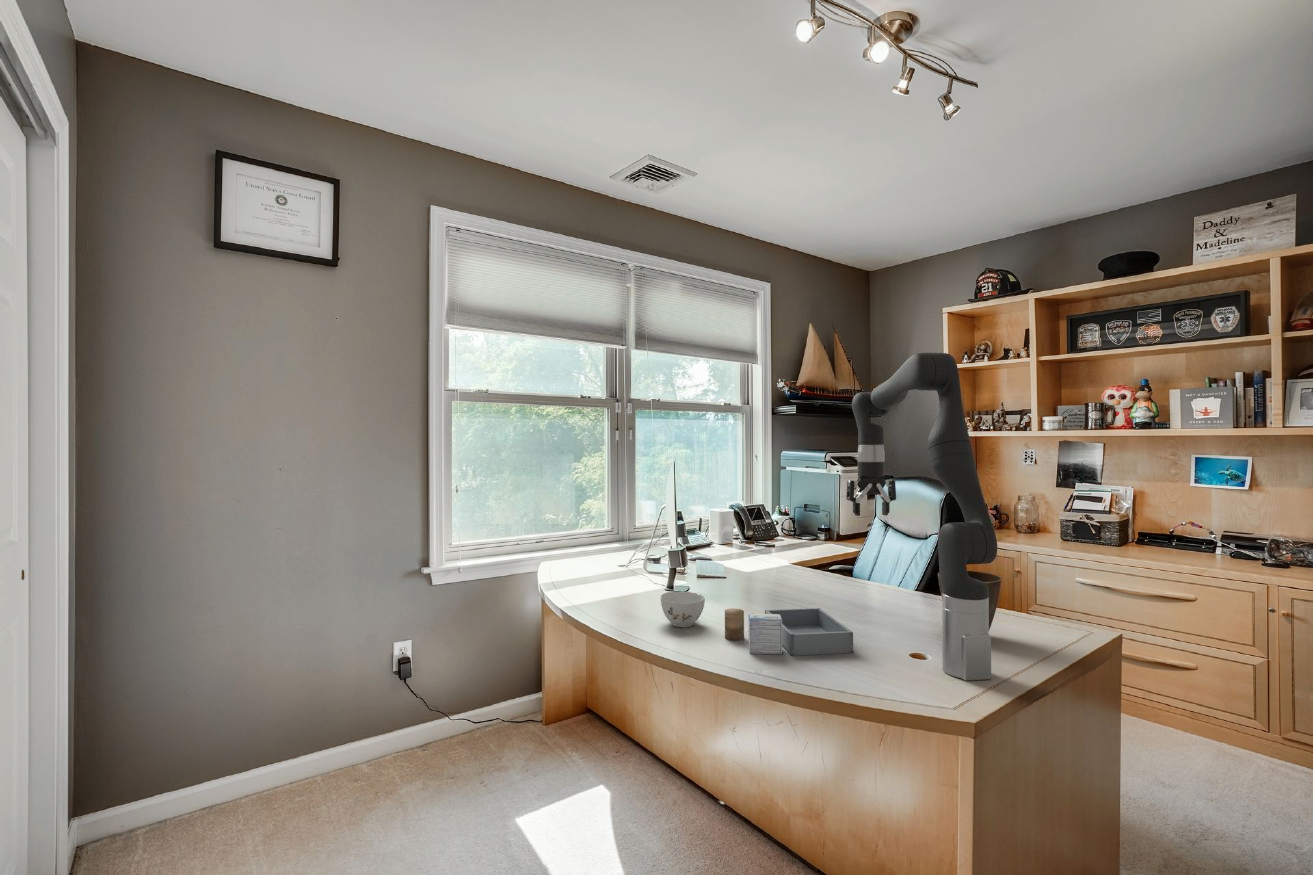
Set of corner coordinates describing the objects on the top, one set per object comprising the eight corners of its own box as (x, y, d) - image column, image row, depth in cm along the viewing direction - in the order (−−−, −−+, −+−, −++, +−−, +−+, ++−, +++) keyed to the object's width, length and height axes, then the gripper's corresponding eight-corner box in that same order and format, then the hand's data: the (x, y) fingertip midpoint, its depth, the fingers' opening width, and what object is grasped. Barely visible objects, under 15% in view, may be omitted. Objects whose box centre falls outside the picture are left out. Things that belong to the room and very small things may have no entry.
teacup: (694, 634, 166) (694, 604, 166) (652, 628, 171) (652, 599, 171) (714, 619, 179) (714, 591, 179) (675, 613, 185) (674, 587, 185)
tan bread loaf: (746, 640, 160) (746, 613, 160) (727, 641, 160) (727, 614, 160) (741, 634, 165) (741, 608, 165) (722, 635, 165) (722, 608, 165)
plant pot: (928, 637, 162) (928, 575, 162) (949, 624, 173) (949, 567, 173) (991, 650, 152) (990, 585, 152) (1009, 636, 162) (1009, 575, 162)
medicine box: (780, 648, 154) (780, 613, 154) (782, 655, 149) (782, 619, 149) (748, 647, 155) (748, 613, 155) (749, 654, 150) (749, 618, 150)
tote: (853, 652, 151) (853, 632, 151) (790, 655, 149) (790, 634, 149) (819, 626, 172) (819, 608, 172) (764, 628, 170) (764, 610, 170)
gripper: (853, 460, 178) (853, 517, 178) (900, 460, 180) (900, 516, 180) (842, 460, 185) (842, 514, 185) (887, 459, 187) (888, 513, 187)
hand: (871, 515), depth 182 cm, fingers open, 8 cm apart
